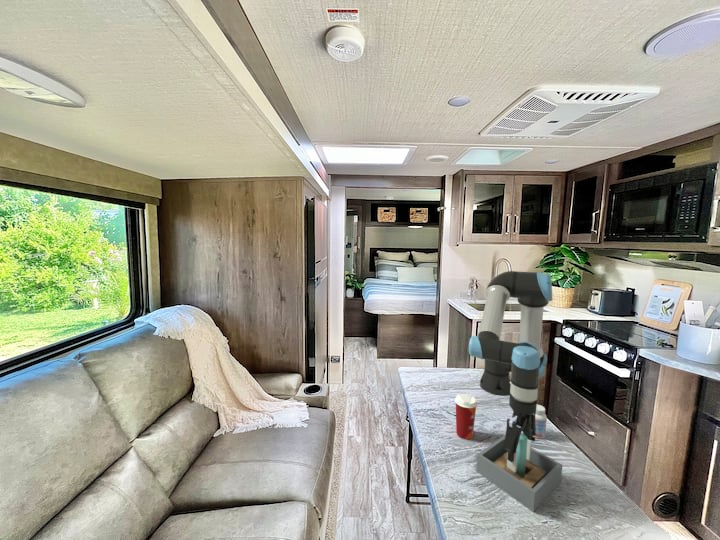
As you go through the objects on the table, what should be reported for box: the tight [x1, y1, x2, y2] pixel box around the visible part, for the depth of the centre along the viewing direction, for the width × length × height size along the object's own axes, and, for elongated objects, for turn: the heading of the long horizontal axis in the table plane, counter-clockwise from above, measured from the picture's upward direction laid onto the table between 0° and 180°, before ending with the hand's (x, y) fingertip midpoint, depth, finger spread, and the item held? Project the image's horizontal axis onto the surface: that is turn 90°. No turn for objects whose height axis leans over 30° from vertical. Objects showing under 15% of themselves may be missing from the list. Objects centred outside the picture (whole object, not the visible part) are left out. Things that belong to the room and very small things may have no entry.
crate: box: [476, 434, 563, 513], centre depth 96 cm, size 18×18×6 cm
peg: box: [511, 432, 528, 478], centre depth 96 cm, size 4×4×14 cm
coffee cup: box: [454, 393, 478, 441], centre depth 116 cm, size 8×8×15 cm
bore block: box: [493, 452, 547, 489], centre depth 96 cm, size 12×12×3 cm
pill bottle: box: [533, 403, 548, 440], centre depth 117 cm, size 6×6×11 cm
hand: (518, 463), depth 96 cm, fingers open, 8 cm apart
